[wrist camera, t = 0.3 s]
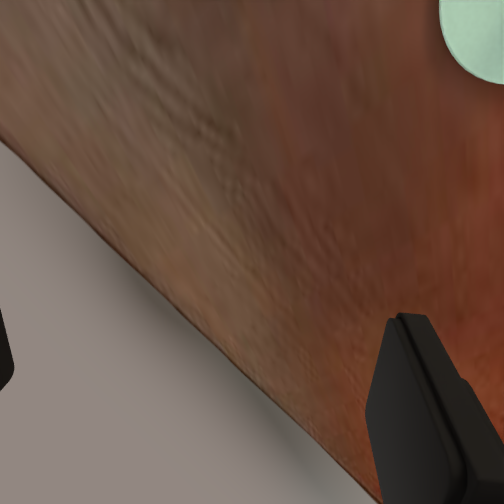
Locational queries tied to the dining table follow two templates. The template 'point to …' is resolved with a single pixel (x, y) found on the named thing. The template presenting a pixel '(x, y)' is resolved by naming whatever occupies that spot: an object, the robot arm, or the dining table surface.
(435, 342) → the robot arm
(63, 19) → the dining table surface
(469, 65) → the lid
